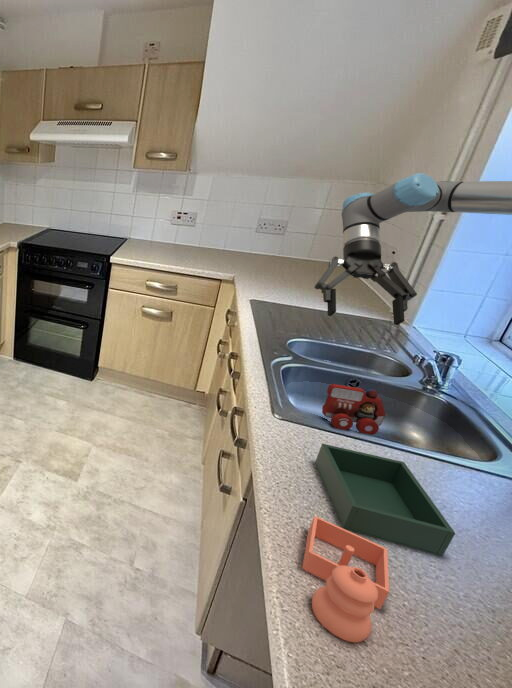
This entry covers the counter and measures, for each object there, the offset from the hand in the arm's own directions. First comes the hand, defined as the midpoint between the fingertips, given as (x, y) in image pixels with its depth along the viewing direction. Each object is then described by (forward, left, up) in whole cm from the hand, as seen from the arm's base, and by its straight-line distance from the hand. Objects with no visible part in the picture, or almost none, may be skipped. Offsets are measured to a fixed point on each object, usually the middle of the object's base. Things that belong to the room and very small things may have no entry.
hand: (364, 318), depth 102 cm
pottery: (+16, +61, -25) cm, 68 cm away
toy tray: (+5, +39, -25) cm, 47 cm away
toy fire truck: (0, +10, -25) cm, 27 cm away
